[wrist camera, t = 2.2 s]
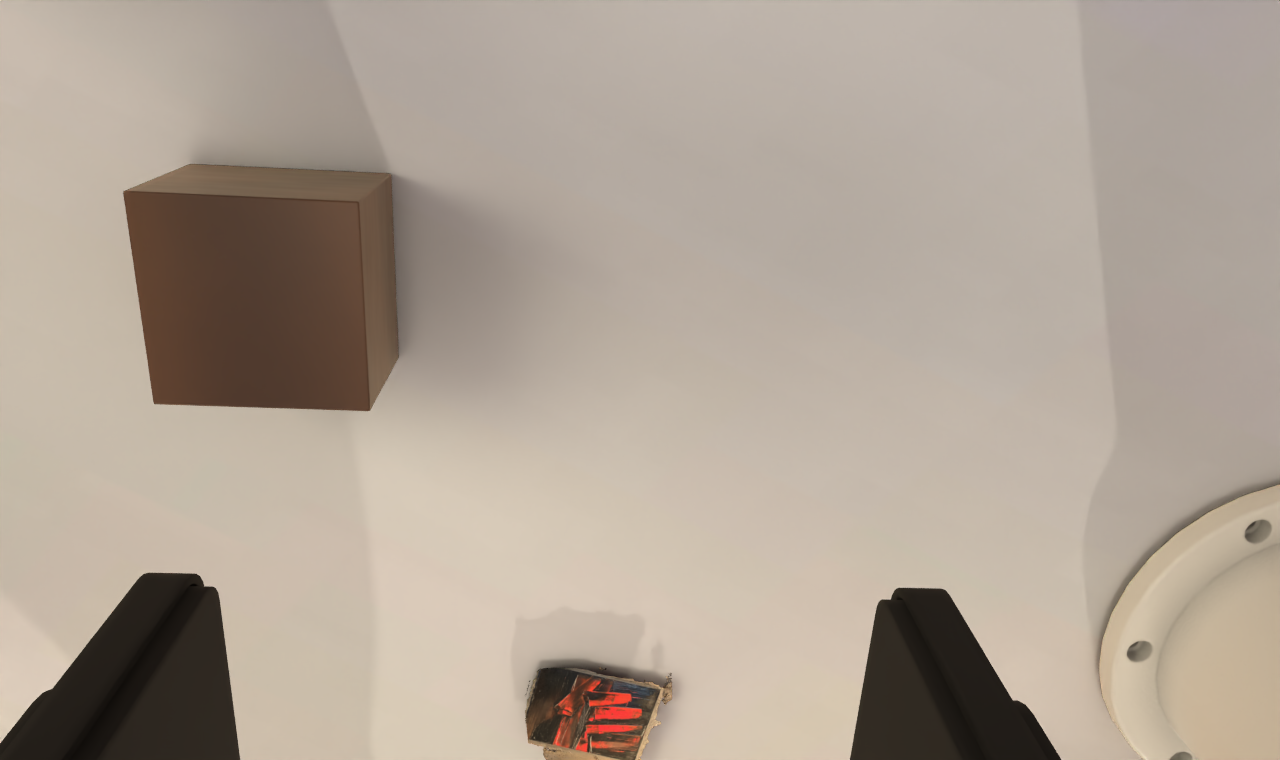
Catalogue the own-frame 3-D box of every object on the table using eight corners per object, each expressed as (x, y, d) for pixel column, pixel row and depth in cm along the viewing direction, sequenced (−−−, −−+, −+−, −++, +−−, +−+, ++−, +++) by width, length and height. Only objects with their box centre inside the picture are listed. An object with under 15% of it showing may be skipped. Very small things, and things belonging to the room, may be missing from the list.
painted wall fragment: (523, 663, 33) (522, 672, 32) (672, 660, 33) (673, 669, 33) (527, 768, 34) (526, 778, 34) (669, 765, 35) (670, 775, 34)
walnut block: (391, 173, 27) (358, 201, 23) (399, 358, 29) (369, 411, 25) (188, 163, 26) (122, 191, 22) (210, 351, 28) (152, 404, 25)
